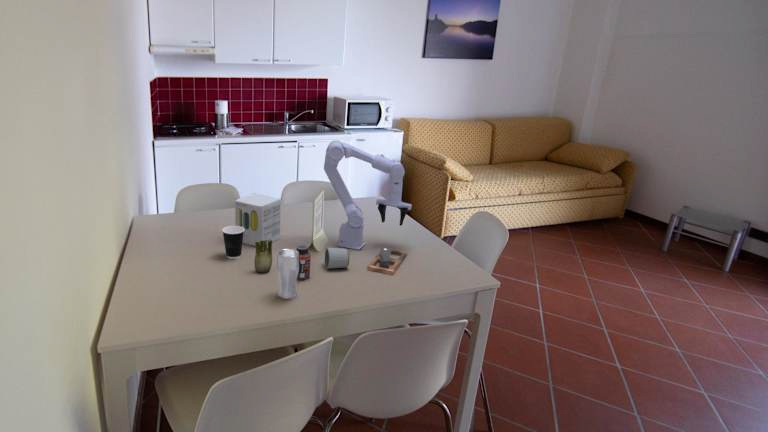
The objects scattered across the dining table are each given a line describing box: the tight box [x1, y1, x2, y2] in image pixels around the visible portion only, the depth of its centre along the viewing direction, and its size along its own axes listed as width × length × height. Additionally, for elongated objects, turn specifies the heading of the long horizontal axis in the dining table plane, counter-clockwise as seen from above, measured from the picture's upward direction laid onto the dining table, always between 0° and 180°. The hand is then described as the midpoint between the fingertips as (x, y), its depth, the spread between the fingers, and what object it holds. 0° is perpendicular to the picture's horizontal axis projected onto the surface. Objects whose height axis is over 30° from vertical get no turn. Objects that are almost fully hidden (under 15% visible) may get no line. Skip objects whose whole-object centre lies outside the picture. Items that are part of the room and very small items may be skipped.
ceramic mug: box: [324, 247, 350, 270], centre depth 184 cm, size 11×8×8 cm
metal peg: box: [378, 245, 392, 269], centre depth 186 cm, size 4×4×8 cm
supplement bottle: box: [296, 244, 312, 281], centre depth 172 cm, size 6×6×11 cm
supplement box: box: [234, 192, 282, 247], centre depth 200 cm, size 13×13×18 cm
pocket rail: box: [366, 248, 408, 276], centre depth 191 cm, size 10×20×2 cm, turn 163°
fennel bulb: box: [253, 240, 273, 273], centre depth 174 cm, size 6×5×12 cm
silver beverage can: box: [276, 248, 299, 300], centre depth 159 cm, size 7×7×15 cm
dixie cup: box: [221, 225, 244, 260], centre depth 184 cm, size 8×8×11 cm
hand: (392, 223), depth 204 cm, fingers open, 7 cm apart
